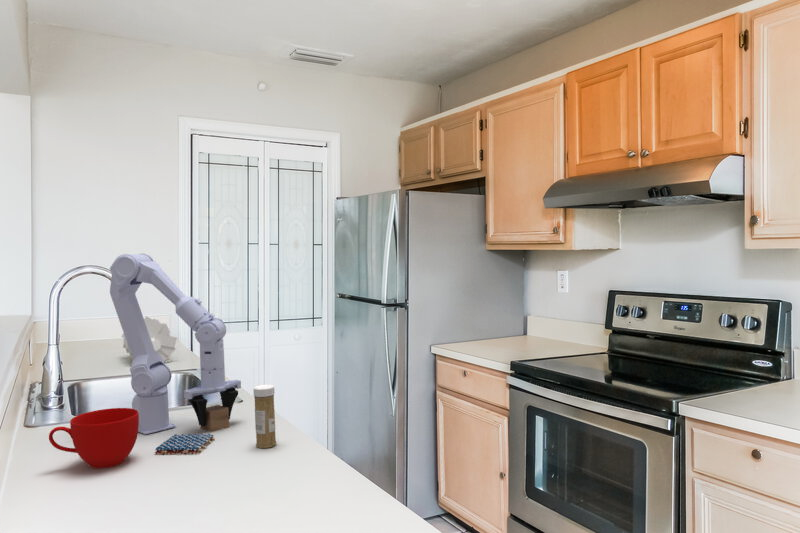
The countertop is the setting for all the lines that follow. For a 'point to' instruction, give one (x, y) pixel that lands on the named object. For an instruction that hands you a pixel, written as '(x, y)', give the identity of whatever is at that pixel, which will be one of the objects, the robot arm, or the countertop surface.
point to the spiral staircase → (157, 338)
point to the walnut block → (216, 418)
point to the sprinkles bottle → (264, 416)
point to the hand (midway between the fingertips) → (214, 422)
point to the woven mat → (184, 444)
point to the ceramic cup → (102, 436)
